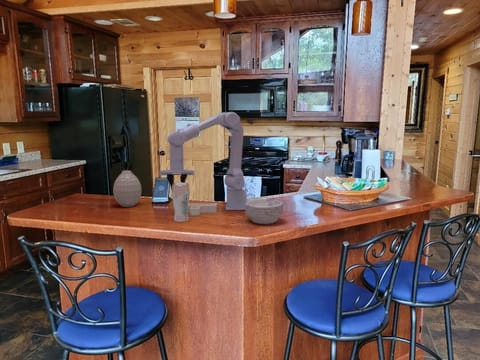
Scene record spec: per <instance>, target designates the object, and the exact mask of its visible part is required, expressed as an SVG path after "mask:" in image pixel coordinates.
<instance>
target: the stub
mask: <svg viewBox="0 0 480 360" xmlns="http://www.w3.org/2000/svg"><path fill="white" fill-rule="evenodd" d="M200 215H201V213H200V206H191V208H190V213H189V216H198V217H199V216H200Z"/></svg>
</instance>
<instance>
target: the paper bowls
mask: <svg viewBox="0 0 480 360" xmlns="http://www.w3.org/2000/svg"><path fill="white" fill-rule="evenodd" d="M245 209H246V210H244V211H245V216H247V217H248V218H249V219H250V221H251V222H253V223H254V224H260V225H271V224H274V222H275V223H276V222H277V221H278V219H279V217H283V216H284V202H283V201H281V200H277V199H274V198H273V199H271V198H258V199H251V200H247V202H246V204H245ZM270 223H271V224H270Z"/></svg>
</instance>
